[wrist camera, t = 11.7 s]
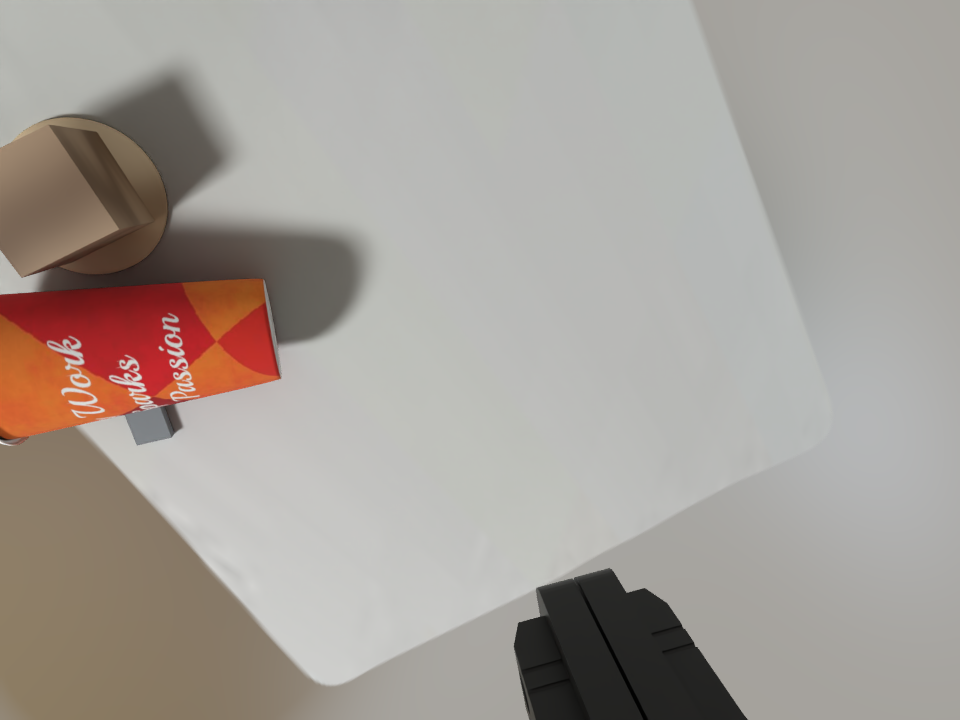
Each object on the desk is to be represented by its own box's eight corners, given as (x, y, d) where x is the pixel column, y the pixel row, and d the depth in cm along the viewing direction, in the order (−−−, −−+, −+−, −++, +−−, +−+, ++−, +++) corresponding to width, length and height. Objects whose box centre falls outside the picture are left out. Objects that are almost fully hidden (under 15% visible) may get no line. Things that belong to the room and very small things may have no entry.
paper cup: (289, 424, 34) (0, 478, 30) (274, 321, 38) (18, 357, 34) (269, 338, 28) (-100, 392, 24) (254, 226, 32) (-62, 256, 28)
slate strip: (90, 314, 34) (85, 316, 33) (127, 306, 34) (123, 309, 34) (140, 441, 36) (136, 445, 36) (174, 433, 37) (171, 437, 36)
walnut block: (8, 175, 31) (-57, 175, 26) (96, 131, 31) (48, 124, 26) (71, 262, 33) (21, 277, 28) (155, 221, 33) (119, 229, 28)
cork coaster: (-27, 132, 30) (-30, 132, 30) (137, 105, 31) (135, 104, 31) (38, 286, 33) (35, 287, 33) (187, 257, 34) (186, 258, 34)
